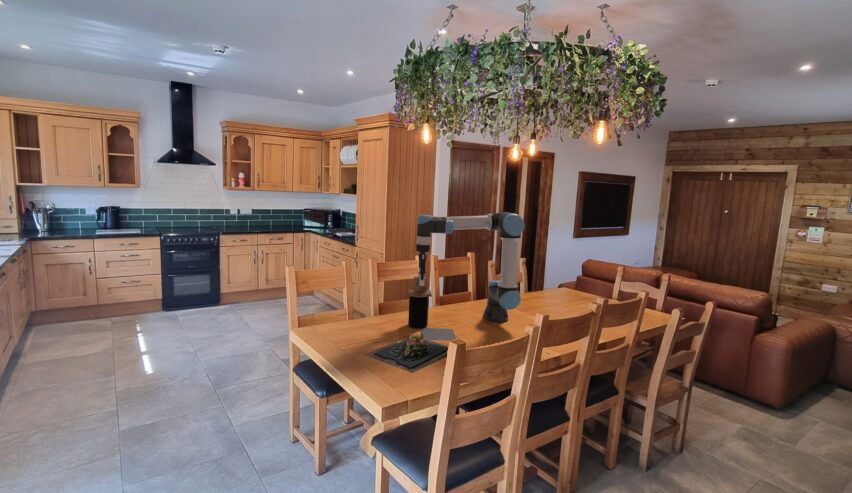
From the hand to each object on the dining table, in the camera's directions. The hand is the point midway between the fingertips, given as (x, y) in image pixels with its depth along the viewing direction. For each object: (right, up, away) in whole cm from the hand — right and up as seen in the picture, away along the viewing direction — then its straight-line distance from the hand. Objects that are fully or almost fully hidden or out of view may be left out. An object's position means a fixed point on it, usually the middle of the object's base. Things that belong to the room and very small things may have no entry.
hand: (421, 282), depth 240 cm
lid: (-1, -6, +1) cm, 6 cm away
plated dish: (-4, -30, -33) cm, 45 cm away
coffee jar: (-2, -24, +4) cm, 25 cm away
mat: (+9, -27, -8) cm, 29 cm away
